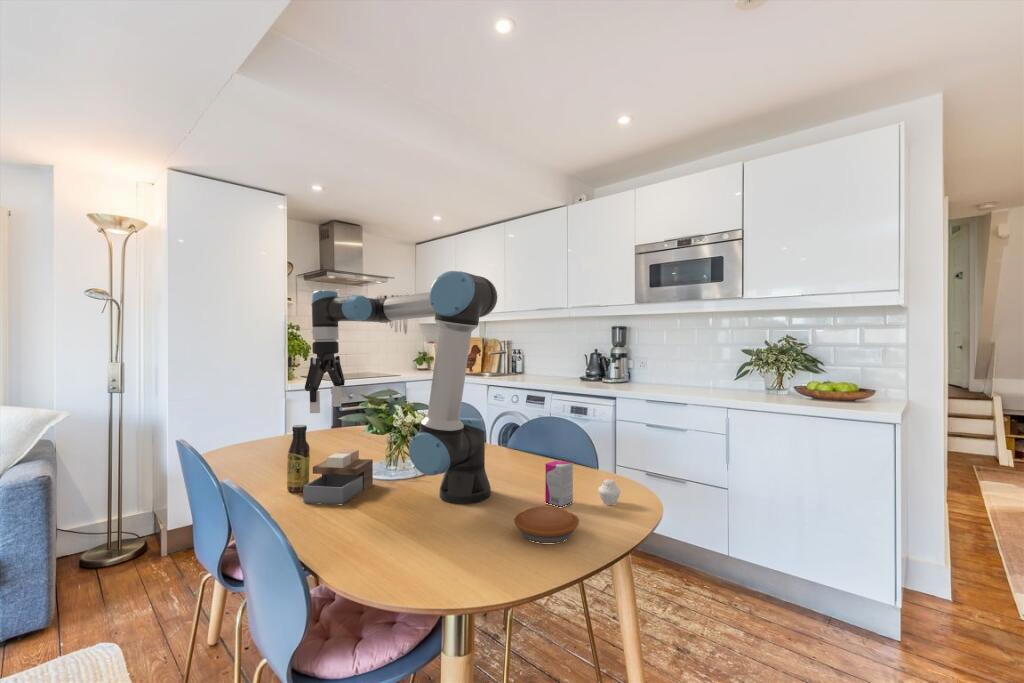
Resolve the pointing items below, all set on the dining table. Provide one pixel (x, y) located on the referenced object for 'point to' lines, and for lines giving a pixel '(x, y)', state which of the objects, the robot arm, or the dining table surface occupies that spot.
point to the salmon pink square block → (353, 454)
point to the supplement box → (559, 483)
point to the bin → (332, 489)
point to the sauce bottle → (298, 460)
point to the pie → (546, 524)
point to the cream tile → (338, 460)
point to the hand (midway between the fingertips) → (326, 409)
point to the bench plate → (350, 470)
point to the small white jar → (609, 492)
